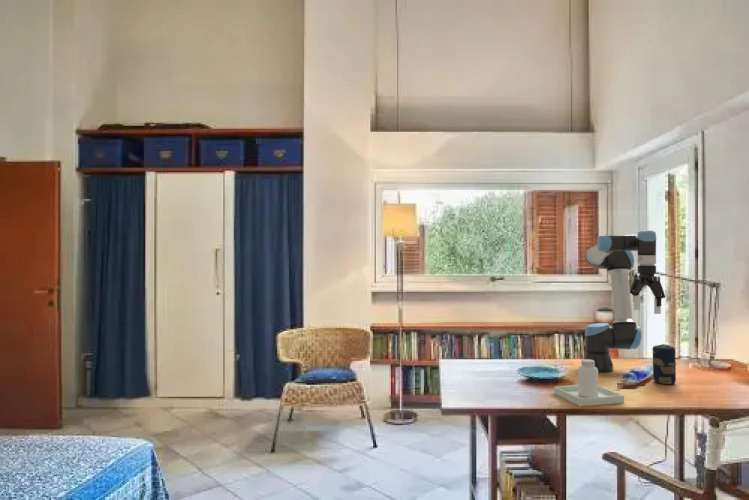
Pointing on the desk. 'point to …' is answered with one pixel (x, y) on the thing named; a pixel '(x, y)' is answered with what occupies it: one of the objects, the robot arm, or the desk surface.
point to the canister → (664, 364)
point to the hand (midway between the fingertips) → (646, 311)
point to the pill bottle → (588, 379)
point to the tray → (603, 397)
